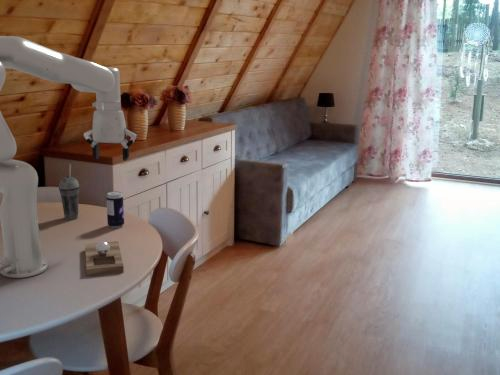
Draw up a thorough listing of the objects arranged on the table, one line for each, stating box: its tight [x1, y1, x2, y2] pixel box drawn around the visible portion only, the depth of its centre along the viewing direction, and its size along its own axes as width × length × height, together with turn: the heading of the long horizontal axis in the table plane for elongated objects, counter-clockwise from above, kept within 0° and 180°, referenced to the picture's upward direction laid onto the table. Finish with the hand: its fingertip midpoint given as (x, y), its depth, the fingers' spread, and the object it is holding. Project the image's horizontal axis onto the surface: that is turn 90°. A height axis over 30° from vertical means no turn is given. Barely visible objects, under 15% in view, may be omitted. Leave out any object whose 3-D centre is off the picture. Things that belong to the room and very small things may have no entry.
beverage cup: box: [58, 163, 80, 221], centre depth 199 cm, size 7×7×20 cm
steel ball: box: [96, 240, 110, 255], centre depth 163 cm, size 4×4×4 cm
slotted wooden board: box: [84, 241, 125, 277], centre depth 164 cm, size 20×10×2 cm, turn 17°
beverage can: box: [105, 191, 125, 229], centre depth 193 cm, size 6×6×12 cm
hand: (111, 159), depth 180 cm, fingers open, 9 cm apart
